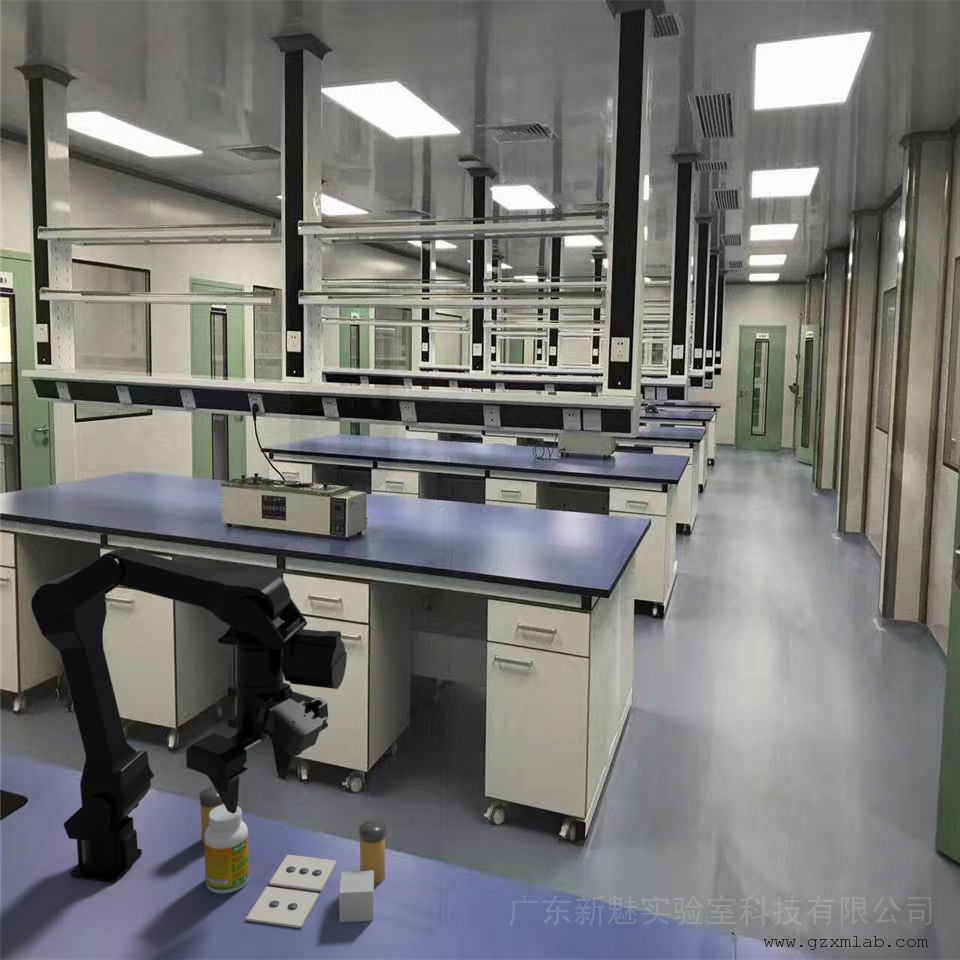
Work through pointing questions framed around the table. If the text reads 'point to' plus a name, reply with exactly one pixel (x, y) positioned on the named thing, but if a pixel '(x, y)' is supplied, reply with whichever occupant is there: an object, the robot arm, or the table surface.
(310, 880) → the pad three
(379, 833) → the amber vial
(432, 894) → the table surface
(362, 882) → the grey block
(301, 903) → the pad two
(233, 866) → the supplement bottle
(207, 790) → the amber vial
